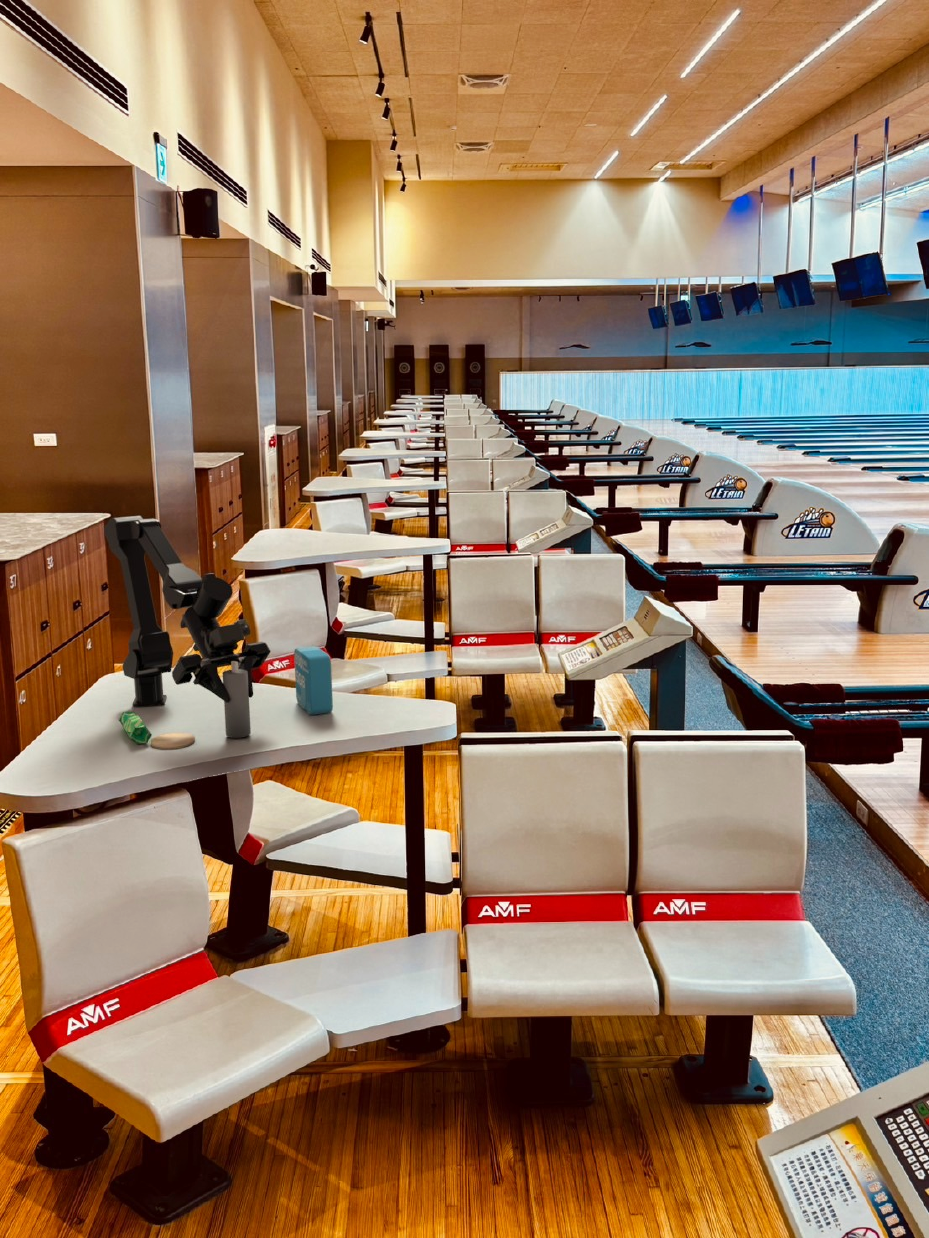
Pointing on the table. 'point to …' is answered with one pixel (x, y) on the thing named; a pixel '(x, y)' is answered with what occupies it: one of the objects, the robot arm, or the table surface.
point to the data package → (313, 680)
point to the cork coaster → (172, 740)
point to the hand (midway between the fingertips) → (240, 698)
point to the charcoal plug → (237, 702)
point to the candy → (135, 727)
